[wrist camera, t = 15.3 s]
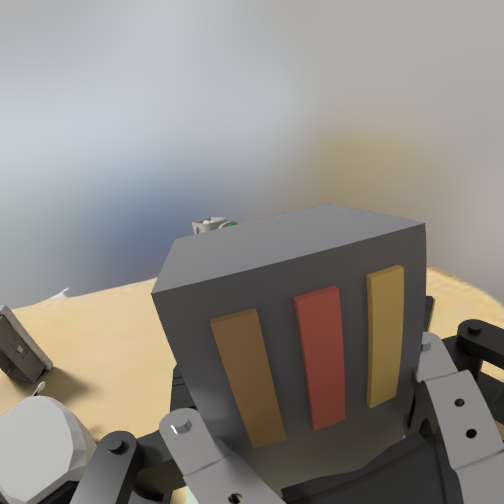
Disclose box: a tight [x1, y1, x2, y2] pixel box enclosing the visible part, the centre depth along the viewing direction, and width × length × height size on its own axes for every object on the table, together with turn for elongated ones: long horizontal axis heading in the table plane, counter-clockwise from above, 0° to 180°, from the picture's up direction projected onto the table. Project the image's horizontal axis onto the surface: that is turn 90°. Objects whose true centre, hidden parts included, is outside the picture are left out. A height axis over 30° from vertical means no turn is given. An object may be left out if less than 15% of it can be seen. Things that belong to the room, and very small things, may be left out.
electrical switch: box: [0, 305, 53, 384], centre depth 22 cm, size 9×5×9 cm, turn 81°
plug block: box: [151, 204, 426, 498], centre depth 9 cm, size 6×5×12 cm
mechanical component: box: [192, 217, 238, 234], centre depth 35 cm, size 3×10×10 cm, turn 29°
